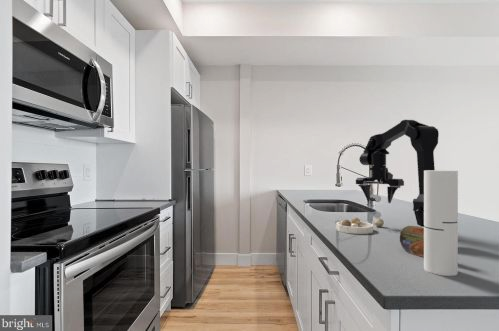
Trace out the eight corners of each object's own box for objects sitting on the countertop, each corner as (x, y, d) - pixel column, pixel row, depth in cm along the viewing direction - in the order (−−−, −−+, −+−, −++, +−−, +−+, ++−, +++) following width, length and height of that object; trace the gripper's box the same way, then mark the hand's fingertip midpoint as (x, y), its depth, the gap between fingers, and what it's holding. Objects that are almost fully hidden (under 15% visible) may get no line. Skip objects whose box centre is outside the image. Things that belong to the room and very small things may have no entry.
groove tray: (372, 235, 114) (372, 228, 114) (334, 231, 120) (334, 225, 120) (373, 228, 127) (373, 222, 127) (339, 225, 133) (338, 219, 133)
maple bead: (383, 227, 127) (383, 219, 127) (374, 227, 129) (374, 218, 129) (383, 226, 131) (383, 217, 131) (374, 225, 132) (374, 217, 132)
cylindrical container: (463, 276, 72) (463, 171, 72) (430, 274, 73) (430, 170, 73) (449, 266, 79) (449, 170, 79) (419, 265, 80) (419, 170, 80)
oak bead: (361, 226, 127) (362, 218, 127) (357, 227, 125) (358, 218, 124) (353, 224, 130) (353, 216, 129) (349, 225, 127) (350, 217, 127)
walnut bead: (350, 230, 120) (350, 220, 120) (341, 229, 121) (341, 220, 121) (351, 228, 123) (351, 219, 123) (342, 227, 124) (342, 218, 124)
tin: (399, 250, 94) (399, 223, 94) (406, 249, 95) (406, 222, 95) (448, 265, 80) (448, 233, 80) (455, 263, 82) (455, 232, 82)
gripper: (409, 165, 128) (409, 202, 128) (368, 165, 142) (368, 198, 142) (397, 165, 120) (397, 204, 121) (354, 165, 135) (355, 200, 135)
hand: (378, 202), depth 130 cm, fingers open, 9 cm apart
